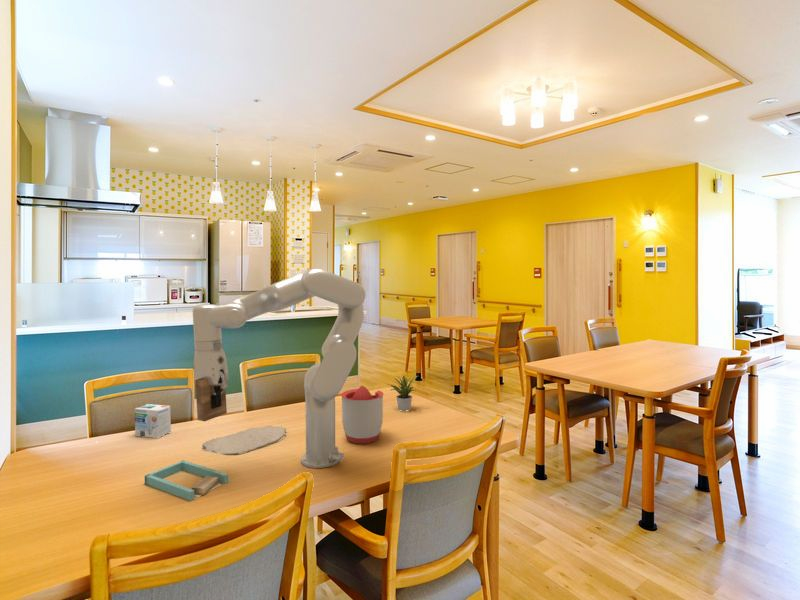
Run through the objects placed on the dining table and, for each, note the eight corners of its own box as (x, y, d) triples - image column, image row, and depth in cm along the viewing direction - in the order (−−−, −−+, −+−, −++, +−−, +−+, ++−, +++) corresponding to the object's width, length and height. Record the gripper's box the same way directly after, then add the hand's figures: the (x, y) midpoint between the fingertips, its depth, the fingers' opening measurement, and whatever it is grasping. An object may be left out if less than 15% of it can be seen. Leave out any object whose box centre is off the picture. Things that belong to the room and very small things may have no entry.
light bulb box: (134, 436, 167) (133, 408, 166) (148, 430, 173) (147, 403, 173) (158, 439, 164) (157, 410, 164) (171, 432, 171) (171, 405, 170)
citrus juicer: (392, 433, 170) (392, 382, 169) (370, 449, 155) (370, 392, 154) (357, 427, 177) (357, 378, 176) (333, 442, 161) (332, 388, 160)
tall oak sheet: (226, 413, 136) (224, 374, 135) (204, 421, 129) (202, 380, 128) (220, 412, 137) (217, 373, 136) (197, 420, 130) (195, 379, 129)
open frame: (228, 486, 127) (228, 474, 127) (190, 505, 117) (190, 492, 116) (183, 471, 137) (183, 460, 137) (144, 487, 126) (144, 475, 126)
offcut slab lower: (221, 490, 126) (221, 484, 126) (198, 503, 119) (197, 496, 118) (211, 487, 127) (211, 481, 127) (187, 500, 120) (187, 493, 120)
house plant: (407, 403, 211) (407, 369, 210) (427, 409, 201) (427, 374, 200) (383, 408, 202) (383, 373, 201) (403, 416, 191) (403, 378, 191)
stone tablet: (198, 448, 156) (198, 442, 156) (274, 427, 178) (274, 421, 177) (219, 462, 145) (219, 455, 145) (297, 438, 166) (297, 432, 166)
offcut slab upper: (218, 483, 126) (218, 477, 126) (203, 495, 119) (203, 488, 119) (207, 482, 127) (206, 476, 127) (191, 493, 120) (191, 487, 120)
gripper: (238, 345, 131) (241, 406, 132) (200, 342, 139) (204, 400, 140) (217, 349, 125) (220, 413, 126) (179, 346, 132) (183, 407, 133)
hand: (212, 406), depth 133 cm, fingers closed on tall oak sheet, 3 cm apart
